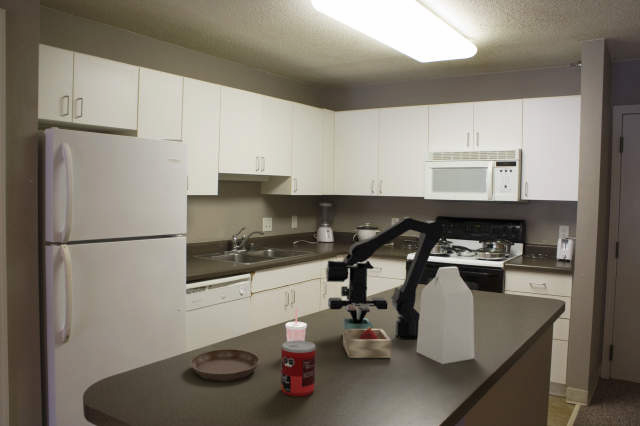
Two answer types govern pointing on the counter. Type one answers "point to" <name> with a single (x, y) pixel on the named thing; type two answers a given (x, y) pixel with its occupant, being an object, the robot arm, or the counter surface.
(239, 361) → the plant saucer
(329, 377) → the counter surface
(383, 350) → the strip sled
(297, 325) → the beverage cup
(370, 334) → the onion
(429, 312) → the milk
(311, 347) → the canned food
